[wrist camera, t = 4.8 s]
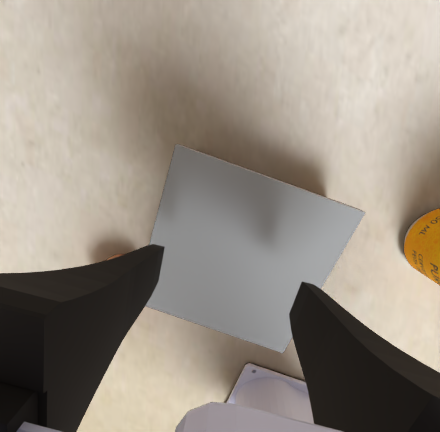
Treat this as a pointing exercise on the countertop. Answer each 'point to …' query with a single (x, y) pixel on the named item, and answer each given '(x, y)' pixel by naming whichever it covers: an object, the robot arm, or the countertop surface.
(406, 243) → the beer can
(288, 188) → the lid
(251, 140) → the countertop surface
